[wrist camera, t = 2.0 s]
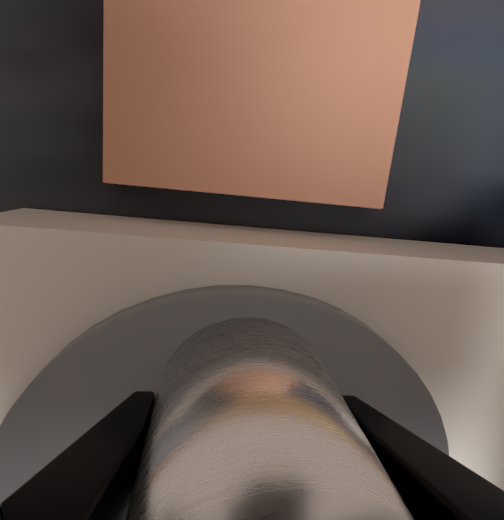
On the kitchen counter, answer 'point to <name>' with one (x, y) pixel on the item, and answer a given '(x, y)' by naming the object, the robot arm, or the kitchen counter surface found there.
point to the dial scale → (242, 306)
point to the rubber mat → (256, 96)
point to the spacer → (256, 435)
